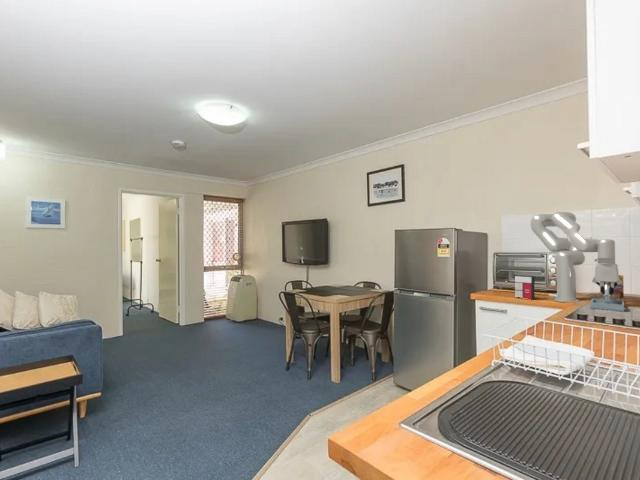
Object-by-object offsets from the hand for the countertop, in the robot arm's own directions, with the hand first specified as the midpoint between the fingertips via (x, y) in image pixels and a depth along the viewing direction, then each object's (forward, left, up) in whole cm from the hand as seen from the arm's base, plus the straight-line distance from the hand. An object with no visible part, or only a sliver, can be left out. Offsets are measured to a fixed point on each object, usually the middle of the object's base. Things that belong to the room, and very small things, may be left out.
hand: (607, 294), depth 193 cm
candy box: (+2, +44, -8) cm, 45 cm away
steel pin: (0, 0, -5) cm, 5 cm away
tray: (0, 0, -8) cm, 8 cm away
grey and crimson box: (-42, +7, -8) cm, 43 cm away
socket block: (0, +20, -8) cm, 21 cm away
